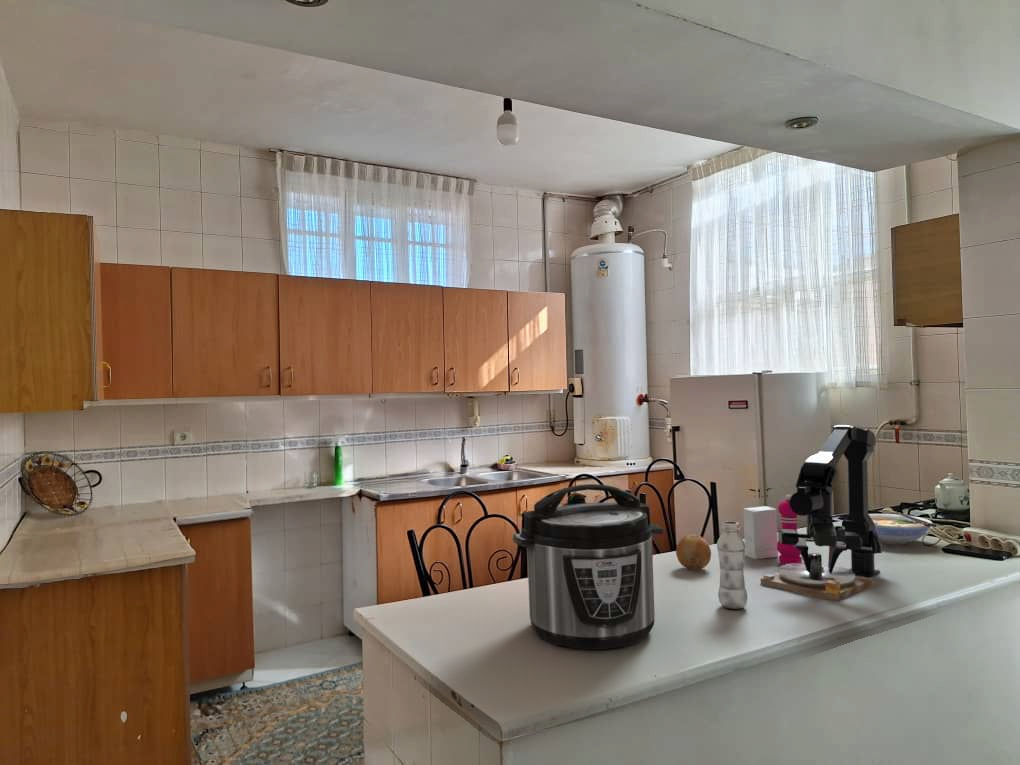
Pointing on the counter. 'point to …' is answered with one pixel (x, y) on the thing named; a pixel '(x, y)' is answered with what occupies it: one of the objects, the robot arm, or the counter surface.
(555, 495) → the pressure cooker
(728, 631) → the counter surface
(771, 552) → the skincare box
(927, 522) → the ramen bowl
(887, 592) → the counter surface
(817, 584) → the dial
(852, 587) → the dial base
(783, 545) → the pepper mill
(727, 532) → the plastic bottle
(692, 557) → the onion
